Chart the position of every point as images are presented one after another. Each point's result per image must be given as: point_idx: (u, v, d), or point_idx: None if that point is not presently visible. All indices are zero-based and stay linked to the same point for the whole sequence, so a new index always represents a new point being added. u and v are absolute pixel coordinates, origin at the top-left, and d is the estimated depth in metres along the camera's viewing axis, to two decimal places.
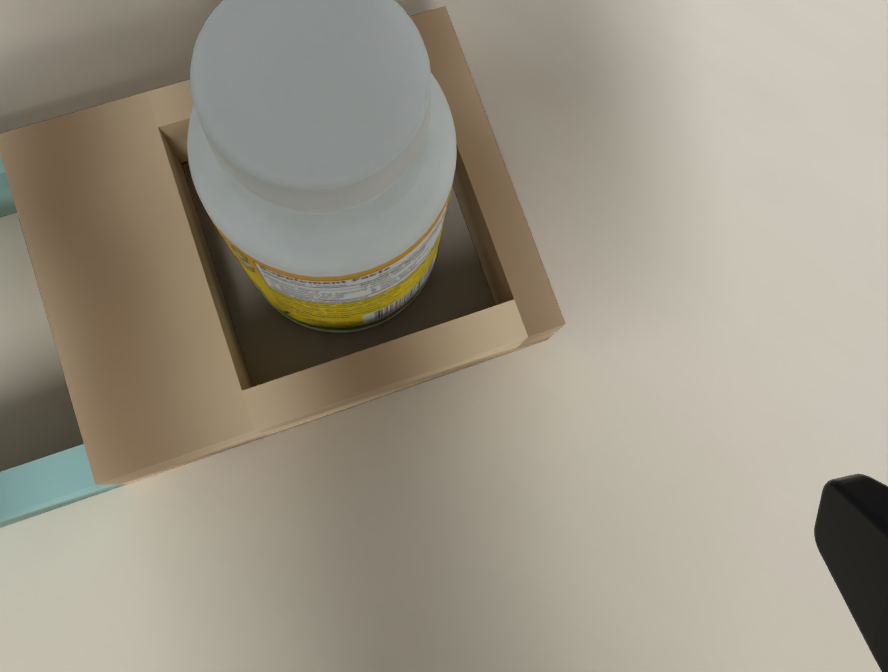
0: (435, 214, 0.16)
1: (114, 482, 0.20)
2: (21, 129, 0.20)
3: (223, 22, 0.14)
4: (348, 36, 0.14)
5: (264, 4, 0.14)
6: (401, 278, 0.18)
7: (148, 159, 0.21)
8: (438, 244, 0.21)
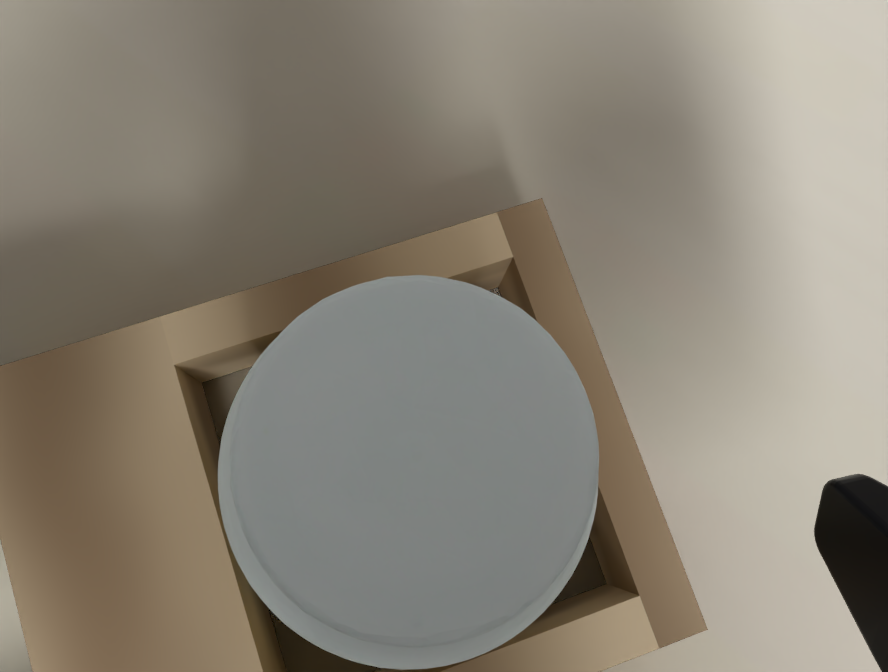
0: (571, 575, 0.11)
1: None
2: None
3: (281, 371, 0.09)
4: (473, 388, 0.09)
5: (343, 339, 0.09)
6: None
7: (161, 408, 0.16)
8: None
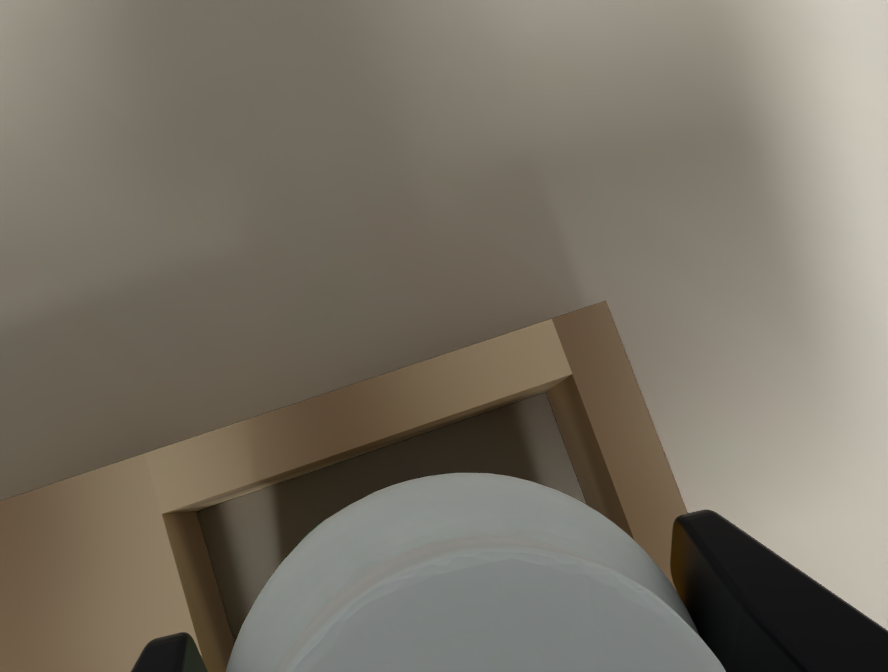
0: None
1: None
2: None
3: None
4: None
5: (400, 655, 0.06)
6: None
7: (145, 569, 0.13)
8: None
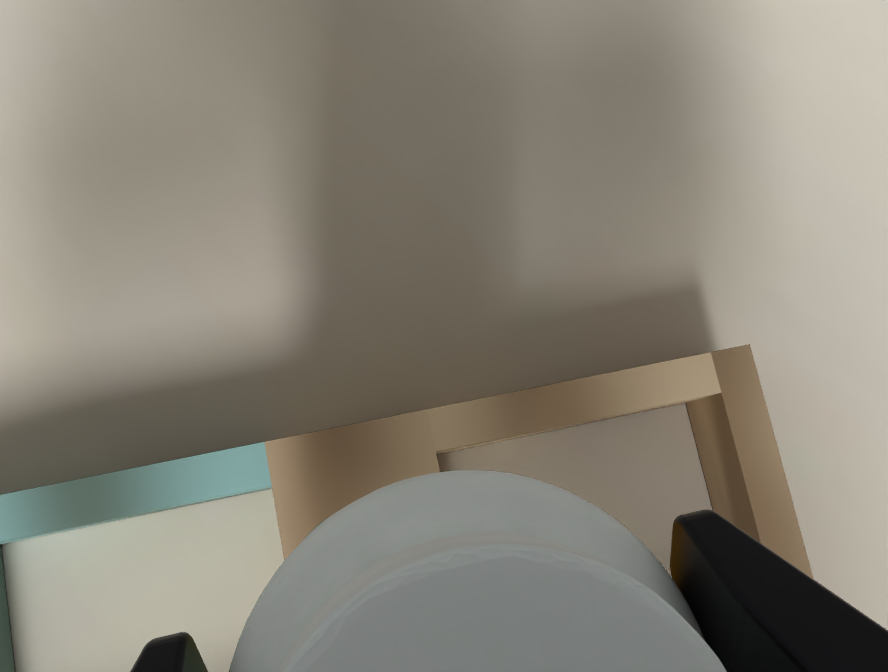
0: None
1: None
2: (292, 437, 0.19)
3: None
4: None
5: (400, 651, 0.06)
6: None
7: None
8: None
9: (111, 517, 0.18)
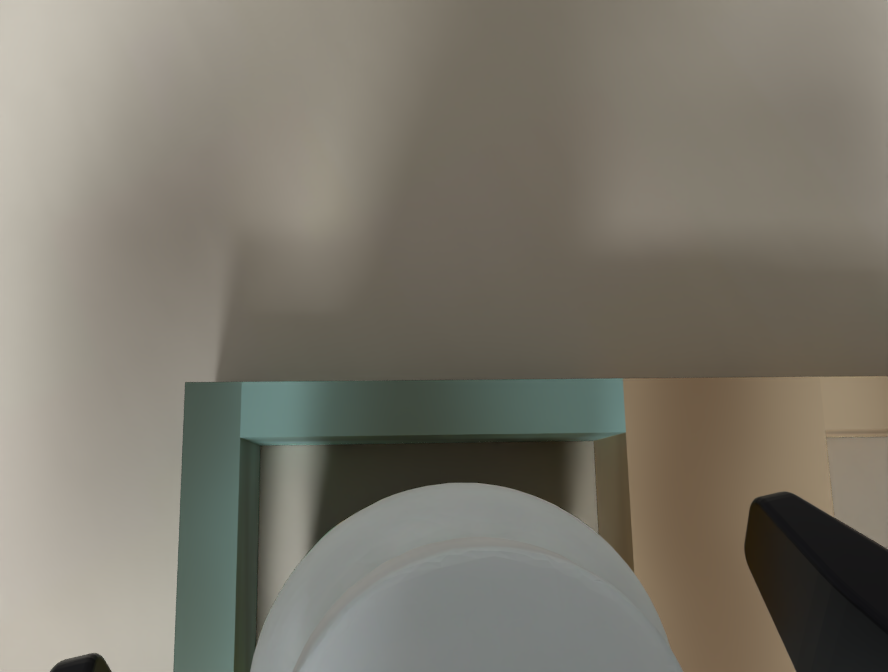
0: None
1: None
2: (655, 380, 0.15)
3: None
4: None
5: (403, 635, 0.08)
6: None
7: (805, 470, 0.15)
8: None
9: (432, 433, 0.15)
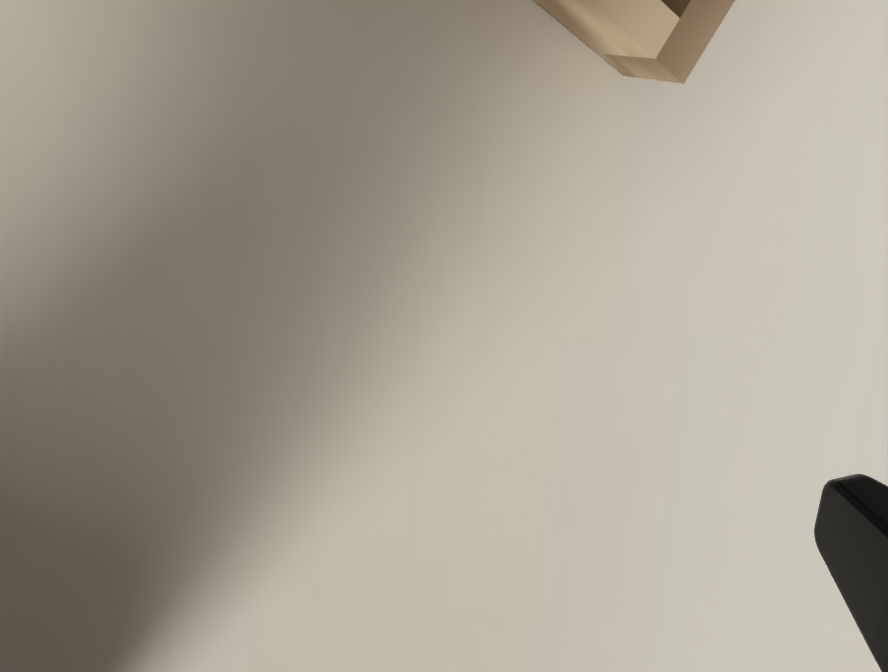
0: None
1: None
2: None
3: None
4: None
5: None
6: None
7: None
8: None
9: None
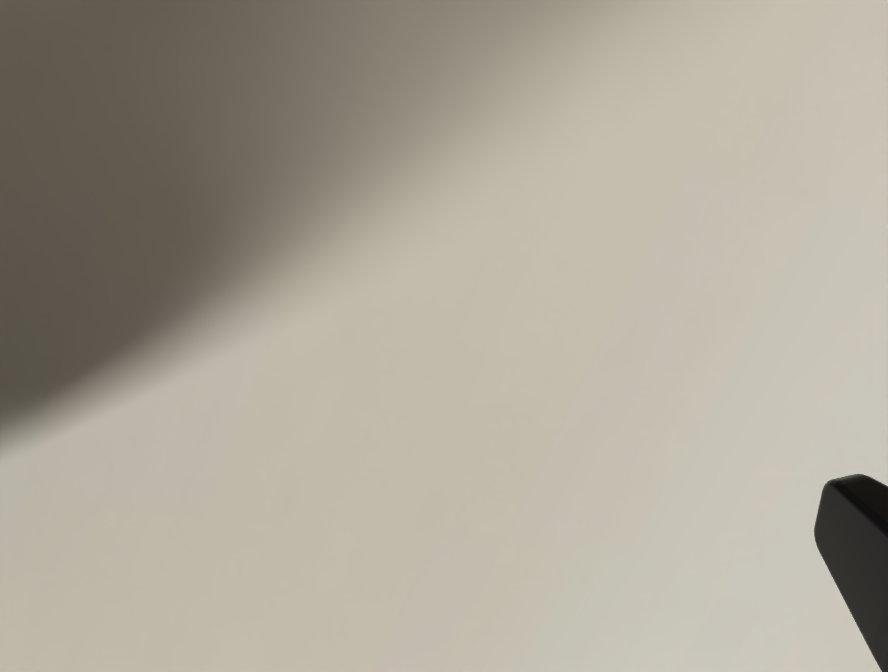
0: None
1: None
2: None
3: None
4: None
5: None
6: None
7: None
8: None
9: None
